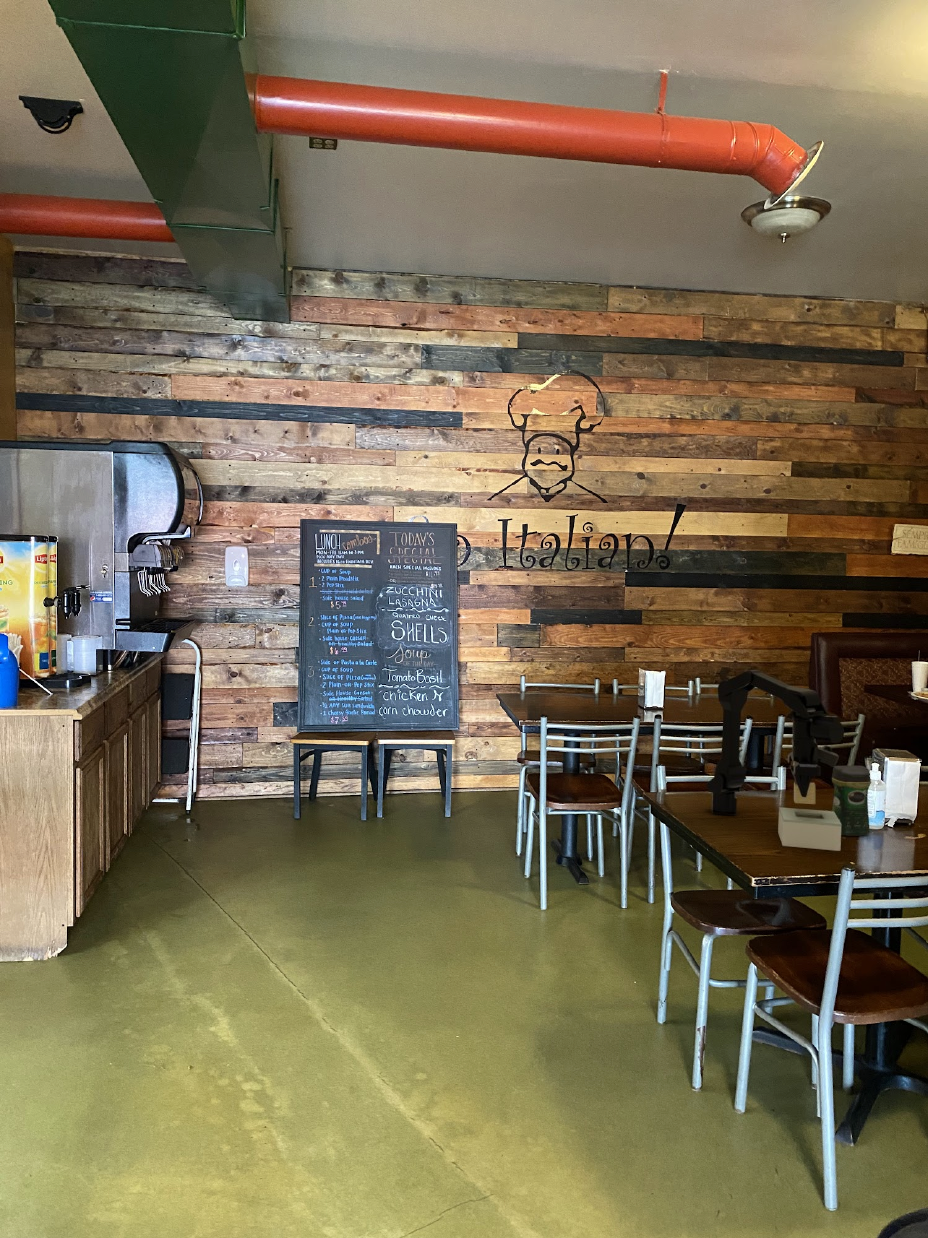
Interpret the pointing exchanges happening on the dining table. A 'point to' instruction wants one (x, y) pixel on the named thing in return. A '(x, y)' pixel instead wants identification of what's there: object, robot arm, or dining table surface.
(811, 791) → the tan wooden block
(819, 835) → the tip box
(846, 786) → the coffee jar
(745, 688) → the robot arm
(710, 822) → the dining table surface
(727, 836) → the dining table surface
